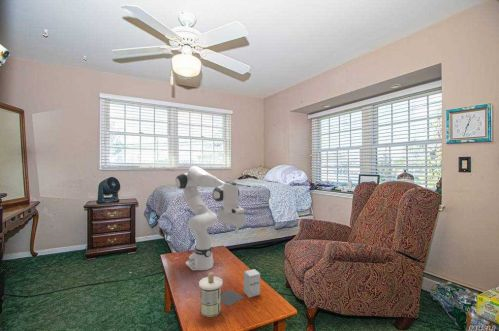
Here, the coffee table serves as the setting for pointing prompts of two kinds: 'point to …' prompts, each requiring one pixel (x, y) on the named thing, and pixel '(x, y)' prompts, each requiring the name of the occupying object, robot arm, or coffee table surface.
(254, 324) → the coffee table surface
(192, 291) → the coffee table surface
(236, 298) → the mat
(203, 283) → the lid
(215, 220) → the robot arm
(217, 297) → the coffee can
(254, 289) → the supplement box
